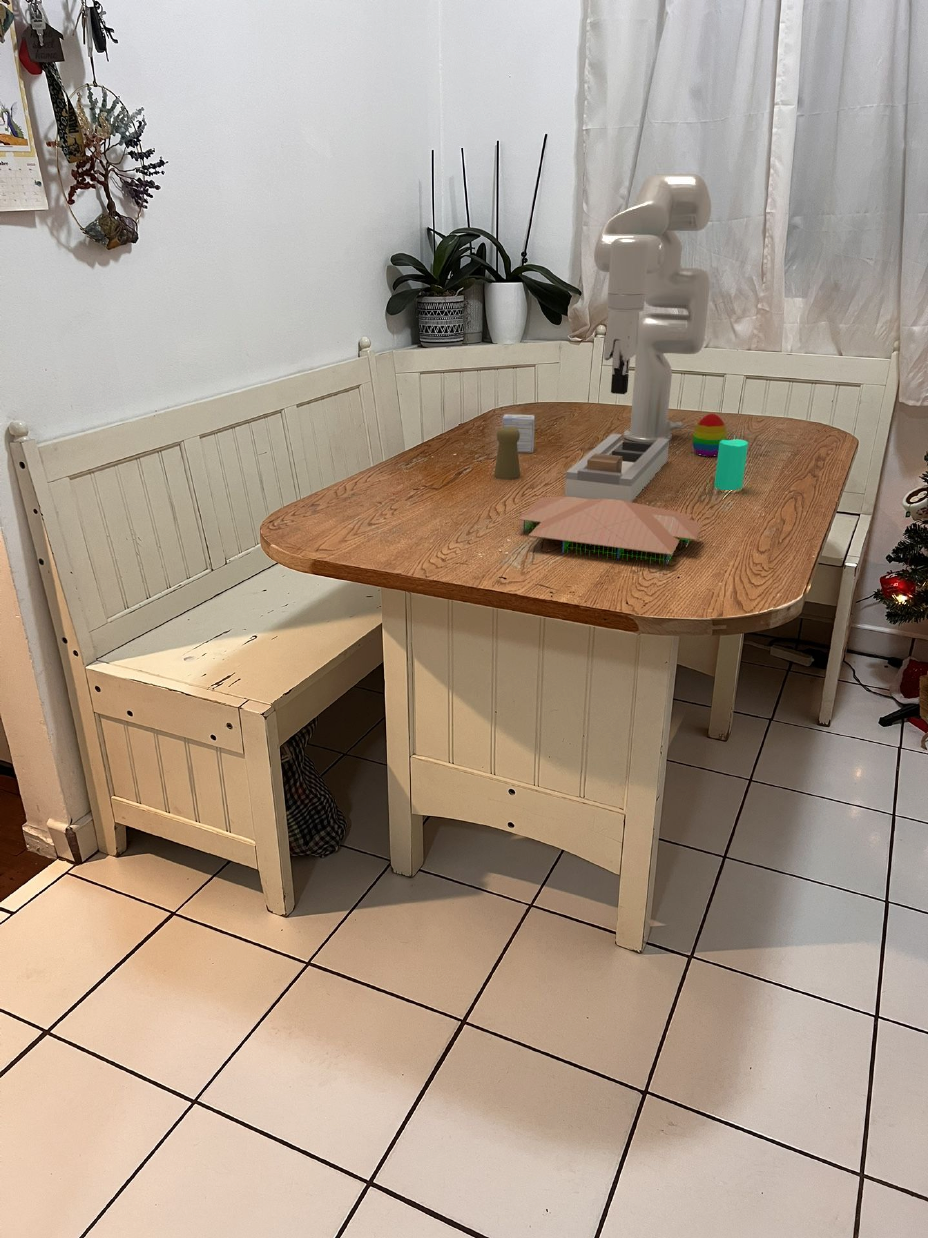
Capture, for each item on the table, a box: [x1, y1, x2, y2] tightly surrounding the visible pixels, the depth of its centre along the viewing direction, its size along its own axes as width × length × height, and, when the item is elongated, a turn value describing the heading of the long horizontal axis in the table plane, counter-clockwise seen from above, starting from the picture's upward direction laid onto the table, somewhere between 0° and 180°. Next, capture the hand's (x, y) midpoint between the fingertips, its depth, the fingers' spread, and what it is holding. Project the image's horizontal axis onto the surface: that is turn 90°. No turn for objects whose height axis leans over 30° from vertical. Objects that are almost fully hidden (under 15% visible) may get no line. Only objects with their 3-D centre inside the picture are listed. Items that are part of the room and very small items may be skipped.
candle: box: [713, 434, 749, 490], centre depth 201 cm, size 6×6×12 cm
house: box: [517, 496, 704, 564], centre depth 172 cm, size 23×33×8 cm
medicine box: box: [501, 413, 536, 454], centre depth 231 cm, size 8×4×9 cm, turn 84°
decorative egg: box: [692, 413, 728, 456], centre depth 229 cm, size 8×8×10 cm
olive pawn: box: [493, 427, 521, 480], centre depth 209 cm, size 6×6×11 cm
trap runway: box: [564, 433, 670, 503], centre depth 209 cm, size 38×14×6 cm, turn 157°
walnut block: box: [587, 453, 623, 473], centre depth 196 cm, size 6×6×4 cm
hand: (619, 392), depth 197 cm, fingers closed
